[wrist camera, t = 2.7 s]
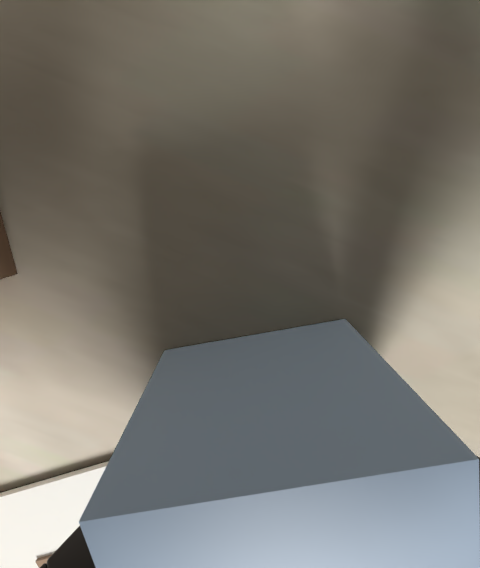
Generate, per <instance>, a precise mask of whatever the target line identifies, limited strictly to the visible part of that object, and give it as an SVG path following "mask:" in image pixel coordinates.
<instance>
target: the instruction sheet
mask: <svg viewBox="0 0 480 568" xmlns="http://www.w3.org/2000/svg"><path fill="white" fill-rule="evenodd" d="M108 462H109V461H107V462H104V463H100V464H97V465H93V466H90V467H87V468H83V469H80V470H76V471H73V472H70V473H66V474H63V475H59V476H56V477H53V478H49V479H46V480H42V481H39V482H36V483H32V484H29V485H25V486H22V487H19V488H15V489H12V490H8V491H5V492H2V493H0V568H40V567H41V566H42V565H43V564H44V563H46V564H47V560H48V558H49V557H50V556H51V555H52V554H53V553H54V552H55V551H56V550H57V549H58V548H59V547H60V546H61V545H62V544H63V543H64V541H65V540H66V539H67V538H68V537H69V536H70V535H71V534H72V533H73V532H74V531H75V530H76V529H77V528H78V527H79V526H80V524H79V520H80V518H81V516H82V514H83V512H84V510H85V508H86V506H87V504H88V502H89V500H90V498H91V496H92V494H93V492H94V490H95V488H96V486H97V484H98V482H99V480H100V478H101V476H102V474H103V472H104V470H105V468H106V466H107V464H108Z"/></svg>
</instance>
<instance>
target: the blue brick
mask: <svg viewBox="0 0 480 568" xmlns="http://www.w3.org/2000/svg"><path fill="white" fill-rule="evenodd" d="M79 524H80V527H81V530H82V532H83V535H84V538H85V540H86V543H87V546H88V548H89V551H90V554H91V556H92V559H93V562H94V564H95V567H96V568H480V492H479V458H478V457H477V456H476V455H475V454H474V453H473V452H472V451H471V450H470V449H469V448H468V447H467V446H466V445H465V444H464V443H463V442H462V441H461V440H460V438H459V437H458V436H457V435H456V434H455V433H454V432H453V431H452V430H451V429H450V428H449V427H448V426H447V425H446V424H445V423H444V422H443V421H442V420H441V419H440V418H439V416H438V415H437V414H436V413H435V412H434V411H433V410H432V409H431V408H430V407H429V406H428V405H427V404H426V403H425V402H424V401H423V400H422V399H421V398H420V397H419V396H418V394H417V393H416V392H415V391H414V390H413V389H412V388H411V387H410V386H409V385H408V384H407V383H406V382H405V381H404V380H403V379H402V378H401V377H400V376H399V375H398V374H397V372H396V371H395V370H394V369H393V368H392V367H391V366H390V365H389V364H388V363H387V362H386V361H385V360H384V359H383V358H382V357H381V356H380V355H379V354H378V353H377V352H376V351H375V349H374V348H373V347H372V346H371V345H370V344H369V343H368V342H367V341H366V340H365V339H364V338H363V337H362V336H361V335H360V334H359V333H358V332H357V331H356V330H355V329H354V327H353V326H352V325H351V324H350V323H349V322H348V321H347V320H346V319H341V320H336V321H330V322H324V323H318V324H313V325H307V326H301V327H295V328H290V329H284V330H278V331H272V332H267V333H261V334H255V335H249V336H243V337H238V338H232V339H226V340H220V341H215V342H209V343H203V344H197V345H192V346H186V347H180V348H174V349H169V350H164V352H163V354H162V356H161V358H160V360H159V362H158V364H157V366H156V368H155V370H154V372H153V374H152V376H151V378H150V380H149V382H148V384H147V386H146V388H145V390H144V392H143V394H142V396H141V398H140V400H139V402H138V404H137V406H136V408H135V410H134V412H133V414H132V416H131V418H130V420H129V422H128V424H127V426H126V428H125V430H124V432H123V434H122V436H121V438H120V440H119V442H118V444H117V446H116V448H115V450H114V452H113V454H112V456H111V458H110V460H109V462H108V464H107V466H106V468H105V470H104V472H103V474H102V476H101V478H100V480H99V482H98V484H97V486H96V488H95V490H94V492H93V494H92V496H91V498H90V500H89V502H88V504H87V506H86V508H85V510H84V512H83V514H82V516H81V518H80V520H79Z"/></svg>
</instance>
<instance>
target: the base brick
mask: <svg viewBox="0 0 480 568" xmlns="http://www.w3.org/2000/svg"><path fill="white" fill-rule="evenodd" d="M16 274H17V270H16V267H15V263H14V260H13V256H12V252H11V249H10V245H9V241H8V238H7V234H6V231H5V227H4V223H3V220H2V216H1V213H0V279H3V278H6V277H9V276H12V275H16Z"/></svg>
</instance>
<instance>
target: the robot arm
mask: <svg viewBox="0 0 480 568" xmlns="http://www.w3.org/2000/svg"><path fill="white" fill-rule="evenodd" d="M477 457H478V456H477ZM478 458H479V492H480V457H478ZM40 568H96V567H95V564H94V562H93V559H92V556H91V554H90V551H89V548H88V546H87V543H86V540H85V538H84V535H83V532H82V530H81V527H80V526H79V527H78V528H77V529H76V530H75V531H74V532H73V533H72V534H71V535H70V536H69V537H68V538H67V539H66V540H65V541H64V543H63V544H62V545H61V546H60V547H59V548H58V549H57V550H56V551H55V552H54V553H53V554H52V555H51V556H50V557H49V558H48V560H47V564H46V563H44V564H43V565H42V566H41V567H40Z"/></svg>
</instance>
